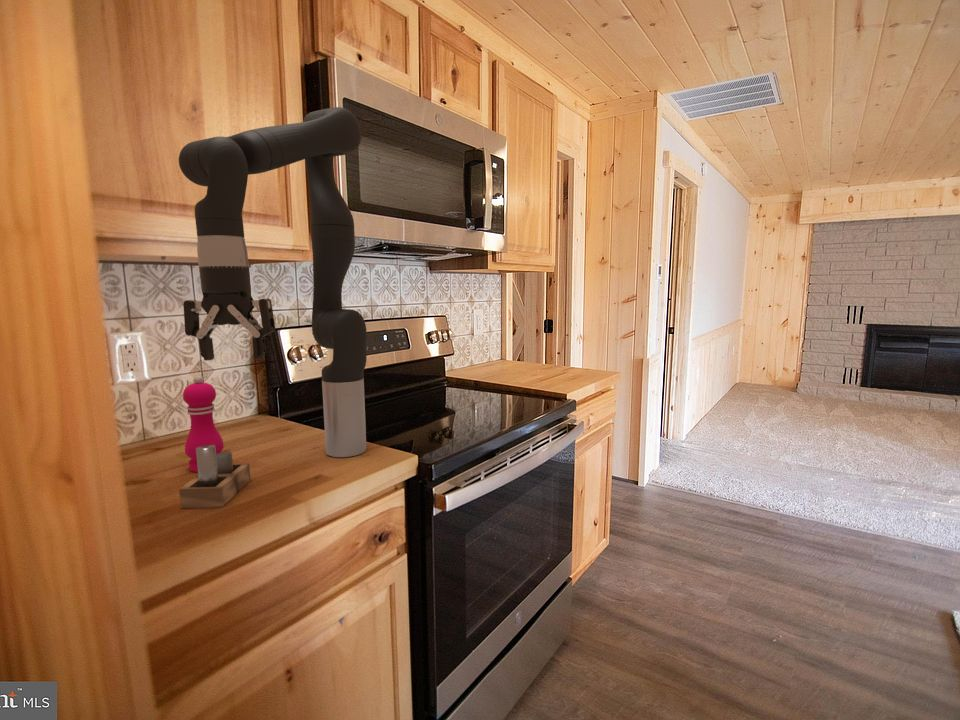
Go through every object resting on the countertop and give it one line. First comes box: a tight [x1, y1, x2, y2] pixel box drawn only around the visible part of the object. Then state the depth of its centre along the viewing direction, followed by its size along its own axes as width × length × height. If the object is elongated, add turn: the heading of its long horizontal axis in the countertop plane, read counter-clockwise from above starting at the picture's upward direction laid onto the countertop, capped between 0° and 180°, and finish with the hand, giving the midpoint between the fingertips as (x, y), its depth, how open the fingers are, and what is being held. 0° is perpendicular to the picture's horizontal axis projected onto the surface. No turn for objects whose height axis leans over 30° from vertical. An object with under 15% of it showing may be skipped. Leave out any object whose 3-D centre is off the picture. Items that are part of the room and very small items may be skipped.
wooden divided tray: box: [178, 451, 252, 509], centre depth 89 cm, size 12×7×6 cm, turn 3°
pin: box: [196, 445, 219, 487], centre depth 86 cm, size 3×3×10 cm
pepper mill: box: [182, 374, 225, 473], centre depth 102 cm, size 7×7×20 cm
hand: (234, 359), depth 84 cm, fingers open, 8 cm apart
